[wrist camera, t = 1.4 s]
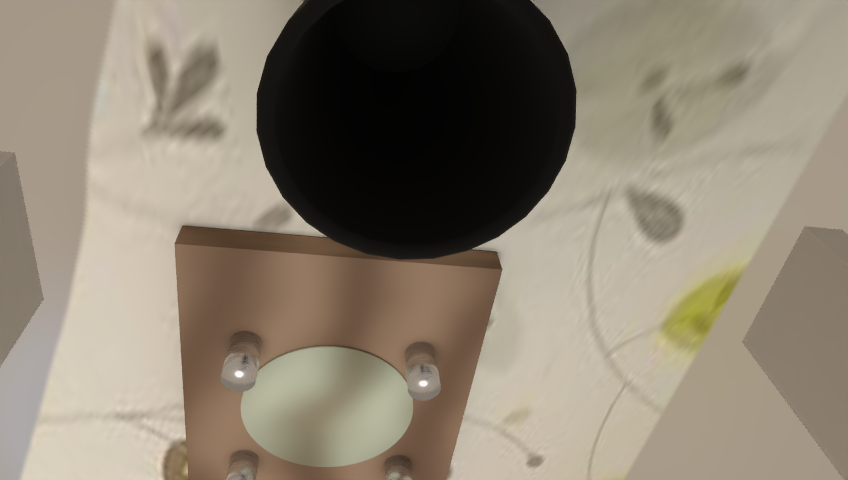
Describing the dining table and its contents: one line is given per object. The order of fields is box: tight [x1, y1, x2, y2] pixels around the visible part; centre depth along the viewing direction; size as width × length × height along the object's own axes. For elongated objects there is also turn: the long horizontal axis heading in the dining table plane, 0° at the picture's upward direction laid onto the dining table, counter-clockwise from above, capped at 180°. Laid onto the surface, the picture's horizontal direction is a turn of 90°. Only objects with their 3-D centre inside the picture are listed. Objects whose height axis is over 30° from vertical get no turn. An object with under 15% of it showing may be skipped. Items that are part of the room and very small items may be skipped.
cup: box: [257, 0, 576, 260], centre depth 21 cm, size 8×8×12 cm
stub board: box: [175, 226, 502, 480], centre depth 35 cm, size 15×20×4 cm
